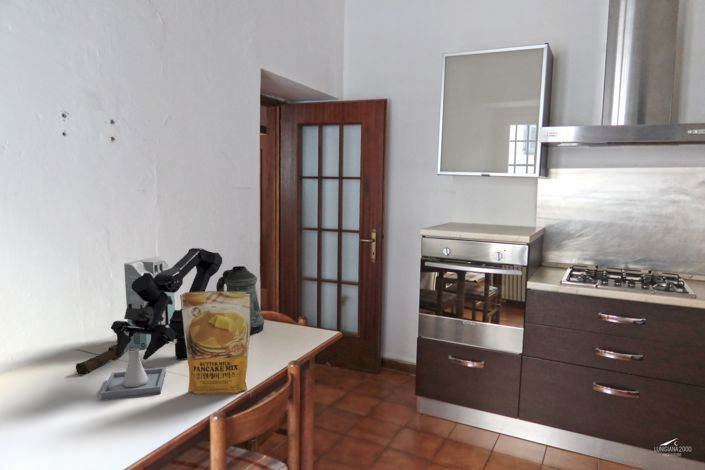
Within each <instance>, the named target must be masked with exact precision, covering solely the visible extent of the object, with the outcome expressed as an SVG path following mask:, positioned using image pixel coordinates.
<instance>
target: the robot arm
mask: <svg viewBox="0 0 705 470" xmlns="http://www.w3.org/2000/svg"><path fill="white" fill-rule="evenodd" d="M187 251H188V252H187V253H186V254H184V256H182V257H181V259H179V260H178V261H177V262H176V263H175V264H174V265H173V266H171V267H172V268H170V269H167V270H164V271H162V272H160V273H159V274H157V275H156V276H155V278H153V276H152V275H151V274H150V273H144V274H143V276H141V277H139V278H137V279H136V280H135V281H133V283H132V290H133V291H134V292H135V293H136V294H137V295H138V296H139V297H140V298H141V299H142V300H143V301H145V302H147V303H146V305H145V307H144V308H140V309H137V308H127V307H126V309H125V314H124V318H123V319H124V320H115V321H113V322H112V324H111V327H110V329H111V330H112V331H113V333H114V334H115V335H116V344H117V347H116V356H117V357H119V356H120V355H121V354H122V352H123V351H124V352H125V350H126V348H127V347H128V346H129V343H130V341H131V340H132V339H131V338H130V337H132V336H133V335H134V333H138V334H149V335H151V340H150V343H149V345H148V347H147V348H146V349H145V351H144V354H143V358H142V359H143V360H144V361H146V360H148V359H149V358H150V357H152V356H153V355H154V354H155V353H156V352H158V351H159V350H160V349H161V348H162V347H164V346H165V345H169V343H170V342H171V343H172V342H173V343H174V341H175V340H176V341H175V343H174V355H175V357H176V360H188V358H187V348H186V343H185V336H184V328H183V316H182V309H181V308H180V309H175V311H174V312H173V315H172V317H171V319H170V320H169V321H170V323H169V325H164V324H158V323H159V321H163V319H164V318H163V317H162V315H163V313H164V311H165V308H166V306H167V304H169V305H172V304H173V301H172V299H171V296H168V295H167V294H166V293H165V292H171V293H174V294H175V293H177V292H178V291H179V289H181V287H182V286H183V284H184V278H185V277H186V276H187V275H188V274H189V273H190V272H191V271H192V270H193V269H194V268H195V269H196V273H195V276H194V279H193V281H192V283H191V284H190V285H191V286H190V287H189V290H188V292H205V291H206V290H207V287H208V284H209V283H210V280H211V277H213V276H214V275H215V274H217V273H218V272H219V269H220V268H221V266H222V263H223V257H222V256H221V254H220V253H219V252H213V251H209V250H206V249H205V248H200V247H196V248H195V247H192V248H189V249H188V250H187ZM127 319H130V320H132V321H131V322H132V323H133V324H135V326H131V325H130V324H129V323H128V321H127ZM125 320H126V321H125Z"/></svg>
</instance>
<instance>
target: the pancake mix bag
mask: <svg viewBox="0 0 705 470" xmlns="http://www.w3.org/2000/svg"><path fill="white" fill-rule="evenodd" d="M226 291H227V290H226ZM226 291H225V292H222V291H217V290H214V291H213V290H208V291H206V290H205V292H189V291H186V292H184V293H182V294H180V295H179V297H180V309H182V316H183V328H184V336H185V343H186V348H187V358H188V359H187V365H188V372H189V376H188V377H189V378H188V388H187V389H188V390H187V392H190V393H194V394H195V395H229V394H232V395H233V394H239V393H241V392H244V391H248V387H247V386H248V385H247V383H246V379H247V371H248V370H247V369H248V360H249V359H248V358H249V357H248V356H249V349H250V340H251V339H250V336H251V335H250V330H251V295H250V294H246V291H227V292H226Z"/></svg>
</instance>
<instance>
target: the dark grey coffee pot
mask: <svg viewBox="0 0 705 470" xmlns="http://www.w3.org/2000/svg"><path fill="white" fill-rule="evenodd" d="M257 282H258V277H257V276H256V275H255V274H254V273H252V272H250V271H249V270H248V269H247V267H246V266H244V265H240V266H239V265H238V266H237V265H236V266H233V267H232V268H231V269H226V270H224V271H223V273H222V276H220V277H219V279H217V283H216V284H215V285H216V286H215V287H216V290H215V291H222V292H227V291H246V294H250V295H251V330H250V336H253V335H256V333H257V334H260V333H261V332H263V331H264V324H265V318H264V317H263V315H262V312H261V309H260V304H259V300H258V299H259V298H258V294H257V287H256V284H257ZM225 286H226V291H225ZM262 330H263V331H262ZM252 334H253V335H252Z"/></svg>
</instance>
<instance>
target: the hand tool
mask: <svg viewBox="0 0 705 470" xmlns="http://www.w3.org/2000/svg"><path fill="white" fill-rule="evenodd" d="M116 347H117V343H116V344H113V345H110V346H109V347H108V348H107V350H105V351H103V352H101V353H99V354H98V355H94V356H93V357H90V358H89V359H86V360H84V361H82V362H78V363H76V364H75V370H76V371H75V372H76V373H77V375H81V376H84V375H86V374H87V373H90V372H91V371H92V370H94V369H96V368H98V367H101V366H103V365H105V364H106V363H108V362H110V361H116V360H118V359H120V358H122V356H124V355H125V350H124V351H123V352H122V354H121V355H120V356H119V357H117V356H116Z"/></svg>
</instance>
